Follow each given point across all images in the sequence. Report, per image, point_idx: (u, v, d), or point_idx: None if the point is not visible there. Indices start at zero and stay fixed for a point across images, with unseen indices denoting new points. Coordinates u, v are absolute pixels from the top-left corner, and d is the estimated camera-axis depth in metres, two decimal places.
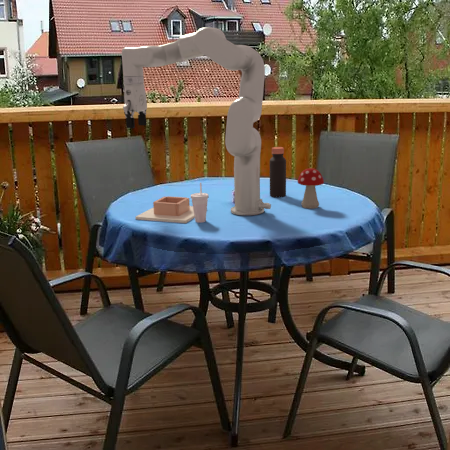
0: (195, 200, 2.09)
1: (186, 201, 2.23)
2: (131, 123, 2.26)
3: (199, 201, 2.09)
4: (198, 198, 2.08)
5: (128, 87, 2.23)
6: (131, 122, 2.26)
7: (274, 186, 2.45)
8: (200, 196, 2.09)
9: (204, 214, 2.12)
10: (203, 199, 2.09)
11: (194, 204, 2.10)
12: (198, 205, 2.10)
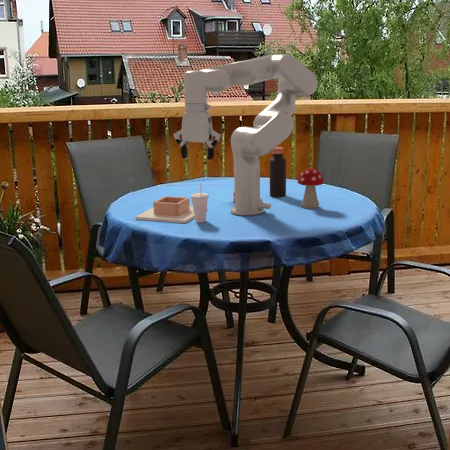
0: (195, 200, 2.09)
1: (186, 201, 2.23)
2: None
3: (199, 201, 2.09)
4: (198, 198, 2.08)
5: (208, 114, 2.02)
6: None
7: (274, 186, 2.45)
8: (200, 196, 2.09)
9: (204, 214, 2.12)
10: (203, 199, 2.09)
11: (194, 204, 2.10)
12: (198, 205, 2.10)
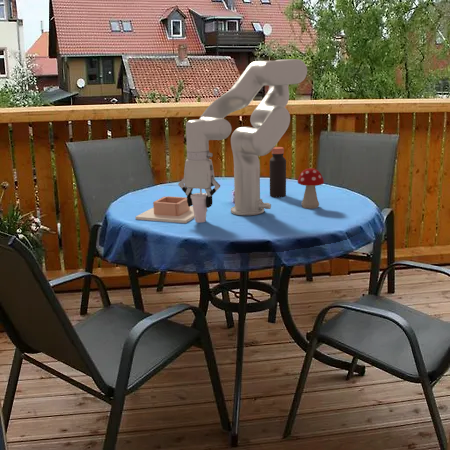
0: (195, 200, 2.09)
1: (186, 201, 2.23)
2: None
3: (199, 201, 2.09)
4: (198, 198, 2.08)
5: (210, 162, 2.06)
6: None
7: (274, 186, 2.45)
8: (200, 196, 2.09)
9: (204, 214, 2.12)
10: (203, 199, 2.09)
11: (194, 204, 2.10)
12: (198, 205, 2.10)
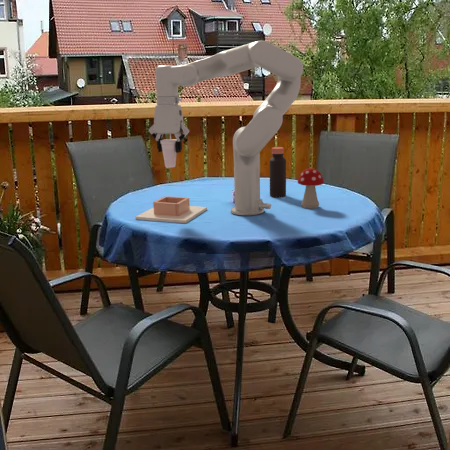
0: (164, 145, 2.14)
1: (186, 201, 2.23)
2: None
3: (168, 146, 2.14)
4: (167, 143, 2.13)
5: (179, 107, 2.11)
6: None
7: (274, 186, 2.45)
8: None
9: (173, 159, 2.16)
10: (172, 144, 2.14)
11: (164, 149, 2.15)
12: (167, 150, 2.14)
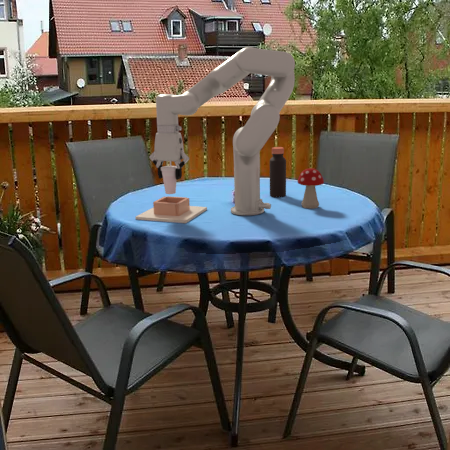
0: (165, 172, 2.17)
1: (186, 201, 2.23)
2: None
3: (168, 173, 2.17)
4: (167, 170, 2.16)
5: (179, 135, 2.14)
6: None
7: (274, 186, 2.45)
8: (169, 168, 2.17)
9: (174, 186, 2.19)
10: (172, 171, 2.17)
11: (164, 176, 2.18)
12: (168, 177, 2.18)
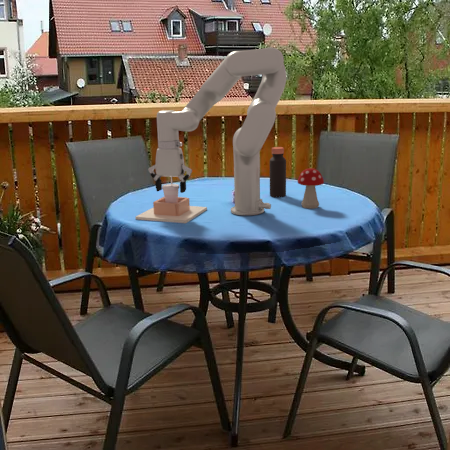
0: (166, 191, 2.19)
1: (186, 201, 2.23)
2: None
3: (170, 192, 2.19)
4: (169, 189, 2.18)
5: (180, 151, 2.16)
6: None
7: (274, 186, 2.45)
8: (171, 187, 2.19)
9: None
10: (174, 190, 2.19)
11: (165, 195, 2.20)
12: (169, 195, 2.20)
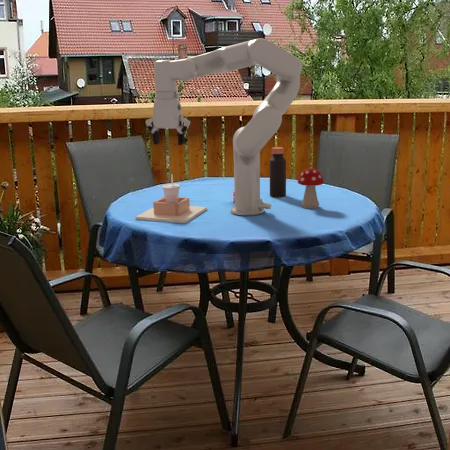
0: (166, 191, 2.19)
1: (186, 201, 2.23)
2: None
3: (170, 192, 2.19)
4: (169, 189, 2.18)
5: (178, 102, 2.11)
6: None
7: (274, 186, 2.45)
8: (171, 187, 2.19)
9: None
10: (174, 190, 2.19)
11: (166, 195, 2.20)
12: (169, 196, 2.19)
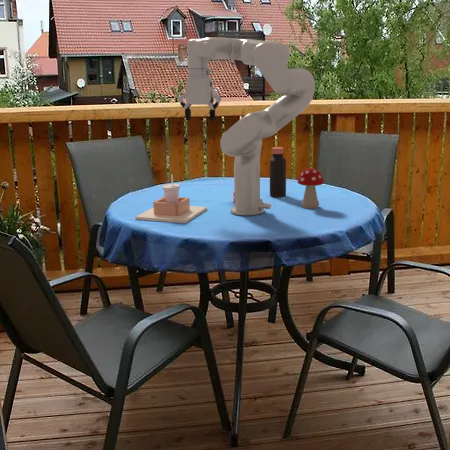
0: (166, 191, 2.19)
1: (186, 201, 2.23)
2: None
3: (170, 192, 2.19)
4: (169, 189, 2.18)
5: (210, 79, 2.22)
6: None
7: (274, 186, 2.45)
8: (171, 187, 2.19)
9: None
10: (174, 190, 2.19)
11: (166, 195, 2.20)
12: (169, 196, 2.19)
